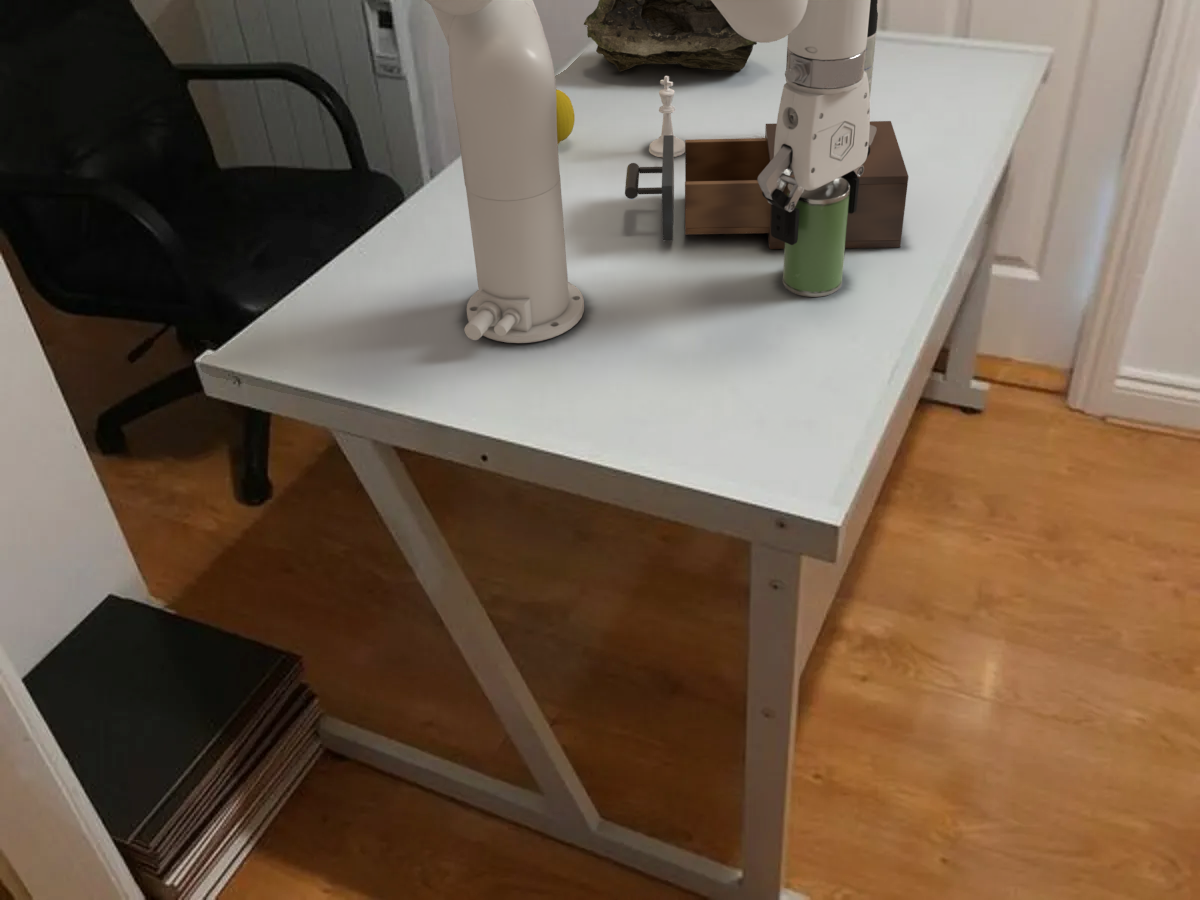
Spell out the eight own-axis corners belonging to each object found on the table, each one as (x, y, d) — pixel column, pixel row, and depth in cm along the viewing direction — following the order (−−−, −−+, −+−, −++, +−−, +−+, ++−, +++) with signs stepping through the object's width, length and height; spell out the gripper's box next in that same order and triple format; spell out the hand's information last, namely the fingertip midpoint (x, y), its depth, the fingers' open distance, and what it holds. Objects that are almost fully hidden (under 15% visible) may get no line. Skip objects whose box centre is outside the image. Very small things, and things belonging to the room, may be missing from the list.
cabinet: (769, 249, 140) (772, 178, 134) (762, 190, 151) (765, 123, 146) (900, 247, 139) (908, 176, 133) (883, 188, 150) (891, 120, 145)
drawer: (624, 241, 141) (622, 186, 137) (629, 188, 151) (627, 135, 147) (781, 239, 139) (784, 183, 135) (774, 185, 150) (777, 132, 146)
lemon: (528, 149, 164) (522, 92, 159) (548, 133, 168) (543, 77, 163) (563, 156, 162) (559, 98, 157) (583, 140, 166) (580, 83, 161)
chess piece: (672, 160, 159) (671, 86, 153) (641, 152, 162) (639, 79, 155) (693, 147, 162) (693, 73, 156) (662, 139, 165) (661, 66, 158)
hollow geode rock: (771, 102, 184) (790, 7, 185) (763, 68, 172) (783, -34, 173) (595, 83, 191) (614, -8, 192) (574, 49, 179) (595, -49, 180)
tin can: (833, 301, 130) (841, 203, 123) (775, 291, 132) (780, 194, 125) (848, 272, 135) (856, 176, 128) (792, 263, 137) (797, 168, 130)
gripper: (795, 101, 112) (786, 266, 123) (911, 50, 121) (893, 208, 131) (735, 80, 117) (731, 241, 127) (851, 32, 125) (839, 186, 136)
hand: (813, 224), depth 129 cm, fingers open, 9 cm apart
